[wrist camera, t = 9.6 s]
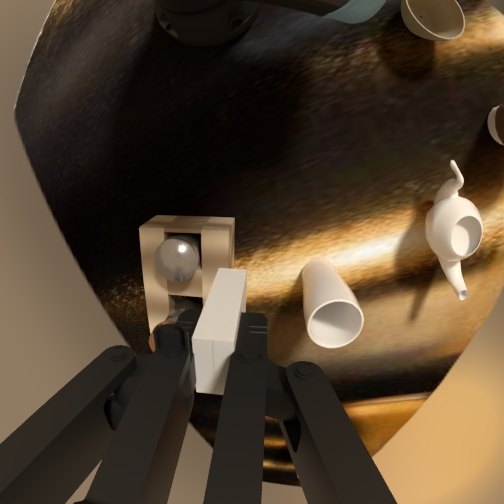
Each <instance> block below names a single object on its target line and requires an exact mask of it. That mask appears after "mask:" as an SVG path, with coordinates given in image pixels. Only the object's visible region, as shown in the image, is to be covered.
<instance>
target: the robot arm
mask: <svg viewBox="0 0 504 504" xmlns="http://www.w3.org/2000/svg"><path fill="white" fill-rule="evenodd" d="M154 1H155V10H156V16H157V19H158V22H159V23H160V25H161V27H162V28H163V29H164V30H165V31H166V32H167V33H168V34H169V35H170V36H171V37H172V38H174V39H175V40H177V41H179V42H181V43H183V44H186V45H190V46H198V47H206V46H214V45H219V44H222V43H225V42H228V41H230V40H232V39H234V38H236V37H238V36H239V35H241V34H242V33H243V32H245V31H246V30H247V29H248V28H249V27H250V26H251V24H252V23H253V22H254V20H255V19H256V17H257V15H258V12H259V9H260V3H263V4H269V5H274V6H280V7H285V8H289V9H294V10H299V11H303V12H307V13H311V14H315V16H316V17H319V18H330V19H334V20H338V21H342V22H345V23H351V24H355V23H361V22H364V21H366V20H368V19H369V18H371V17H372V16H373V15H375V14H376V13H377V12H378V11H379V9H380V8H381V7H382V6H383V4H384V3H385V2H386V0H154ZM246 282H247V270H246V269H229V268H219V269H218V272H217V274H216V277H215V279H214V282H213V284H212V287H211V289H210V292H209V295H208V297H207V300H206V302H205V305H204V308H203V310H194V309H186V310H185V311H183V312H182V313H181V314H180V315H179V317H178V319H177V322H176V323H175V324H164V325H160V326H158V327H156V328H155V329H154V330H153V336H154V343H155V351H154V353H152V354H147V355H135V353H134V351H133V350H132V349H131V348H129V347H128V346H123V345H118V346H113V347H109V348H108V349H106V350H105V351H104V352H102V353H101V354H100V355H99V356H98V357H97V358H96V359H94V360H93V361H92V362H91V363H90V364H89V365H87V366H86V367H85V368H84V369H83V370H82V371H81V372H80V373H78V374H77V375H76V376H75V377H74V378H73V379H72V380H70V381H69V382H68V383H67V384H66V385H65V386H64V387H63V388H62V389H60V390H59V391H58V392H57V393H56V394H55V395H54V396H53V397H51V398H50V399H49V400H48V401H47V402H46V403H45V404H44V405H43V406H41V407H40V408H39V409H38V410H37V411H36V412H35V413H34V414H33V415H32V416H30V417H29V418H28V419H27V420H26V421H25V422H24V423H23V424H22V425H21V426H19V427H18V428H17V429H16V430H15V431H14V432H13V433H12V434H11V435H10V436H9V437H7V438H6V439H5V440H4V441H3V442H2V443H1V444H0V504H65V503H66V502H67V501H68V499H69V498H70V497H71V496H72V495H73V493H74V492H75V491H76V490H77V489H78V488H79V486H80V485H81V484H82V483H83V482H84V480H85V479H86V478H87V477H88V476H89V474H90V473H91V472H92V471H93V469H94V468H95V467H96V466H97V465H98V463H99V462H100V461H101V460H102V461H101V464H100V466H99V468H98V470H97V473H96V475H95V477H94V480H93V482H92V484H91V486H90V489H89V491H88V493H87V495H86V497H85V499H84V500H83V501H79V502H74V503H73V504H167V501H168V497H169V494H170V489H171V486H172V482H173V478H174V474H175V470H176V466H177V463H178V459H179V455H180V451H181V448H182V444H183V440H184V436H185V433H186V429H187V425H188V422H189V418H190V414H191V411H192V407H193V403H194V392H193V391H194V388H195V384H196V392H202V393H211V394H221V395H223V400H222V405H221V411H220V416H219V421H218V427H217V432H216V437H215V443H214V448H213V454H212V459H211V464H210V470H209V475H208V481H207V487H206V491H205V497H204V502H203V504H261V495H262V475H263V454H264V430H265V416H268V417H272V418H275V419H278V420H279V423H280V426H281V429H282V432H283V435H284V438H285V441H286V444H287V447H288V449H289V452H290V455H291V458H292V461H293V464H294V467H295V469H296V472H297V475H298V478H299V481H300V483H301V486H302V489H303V492H304V494H305V497H306V500H307V502H308V504H397V502H396V501H395V499H394V497H393V495H392V493H391V492H390V490H389V488H388V486H387V484H386V483H385V481H384V479H383V477H382V475H381V474H380V472H379V470H378V468H377V466H376V465H375V463H374V461H373V459H372V457H371V456H370V454H369V452H368V450H367V449H366V447H365V445H364V443H363V441H362V440H361V438H360V436H359V434H358V433H357V431H356V429H355V427H354V425H353V424H352V422H351V420H350V418H349V417H348V415H347V413H346V411H345V409H344V408H343V406H342V404H341V402H340V401H339V399H338V397H337V395H336V394H335V392H334V390H333V388H332V386H331V385H330V383H329V381H328V379H327V378H326V376H325V374H324V372H323V371H322V369H321V368H320V367H319V366H318V365H316V364H314V363H311V362H307V361H298V362H295V363H292V364H291V365H289V366H288V367H287V368H285V367H282V366H279V365H276V364H274V363H273V362H271V361H270V360H269V358H268V357H267V318H266V317H265V316H264V314H262V313H245V312H246ZM111 394H112V395H111ZM110 395H111V396H110ZM109 396H110V397H109Z"/></svg>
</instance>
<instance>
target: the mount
mask: <svg viewBox="0 0 504 504" xmlns="http://www.w3.org/2000/svg"><path fill="white" fill-rule="evenodd" d="M179 233H201V248H202V252H200V253H199V258H200V260H199V265H198V267H197V269H196V271H195V273H194V274H193V275H192V276H191V277H190V278H189V279H187V280H185V281H181V282H175V281H171V280H168V279H167V278H165V277H164V276H162V275H161V274H160V273H159V271H158V270H157V268H156V265H155V261H154V256H155V252H156V249H157V248H158V246H159V245H160V244H161V243H162V242H163V241H164V240H166V239H167V238H169V237H172V236H177V235H178V234H179ZM139 234H140V247H141V259H142V269H143V279H144V288H145V297H146V305H147V312H148V320H149V327H150V333H152V331H153V329H154V328H155V326H156V325H157V324H159V323H161V322H163V321H165V319H166V318H167V316H168V314H169V312H170V310H171V309H172V307H173V305H174V303H175V302H176V301H178V300H180V299H182V296H194V297H203V304H198V303H195V304H196V305H197V306H198V308H199V310H203V308H204V305H205V302H206V300H207V297H208V295H209V292H210V289H211V287H212V284H213V282H214V279H215V277H216V274H217V272H218V269H219V268H229V269H234V234H235V218H228V217H201V216H167V215H156V216H155V217H153V218H152V219H150V220H149V221H147V222H146V223H145V224H143V225H142V226H140V227H139Z"/></svg>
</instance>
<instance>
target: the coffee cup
mask: <svg viewBox="0 0 504 504" xmlns="http://www.w3.org/2000/svg"><path fill="white" fill-rule="evenodd" d="M488 129H489V132H490V134H491V136H492V137H493V139H494V140H495V141H497V142H498V143H499V144H501V145H504V103H503V104H501V105H500V106H497V107H495V108H493V109H492V111H491V112H490V113H489V116H488Z"/></svg>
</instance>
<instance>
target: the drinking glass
mask: <svg viewBox="0 0 504 504" xmlns="http://www.w3.org/2000/svg"><path fill="white" fill-rule="evenodd" d="M302 281H303V312H304V319H305V324H306V328H307V332H308V335H309V337H310V338H311V340H312V341H313V342H314V343H316V344H317V345H319V346H321V347H325V348H338V347H342V346H345V345H347V344H349V343H350V342H352V341H353V340H354V339H355V338H356V337H357V336H358V335H359V333H360V332H361V330H362V327H363V322H364V318H363V313H362V311H361V308H360V306H359V303H358V301H357V299H356V297H355V295H354V294H353V292H352V291H351V289H350V288H349V287H348V285H347V284H346V283H345V281H344V280H343V279H342V277H341V276H340V275H339V273H338V272H337V270H336V269H335V267H334V265H333V264H332V263H331V262H330V261H329V260H326V259H323V258H317V259H313V260H311V261H309V262H308V263H307V264H306V265H305V267H304V268H303V271H302Z"/></svg>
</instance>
